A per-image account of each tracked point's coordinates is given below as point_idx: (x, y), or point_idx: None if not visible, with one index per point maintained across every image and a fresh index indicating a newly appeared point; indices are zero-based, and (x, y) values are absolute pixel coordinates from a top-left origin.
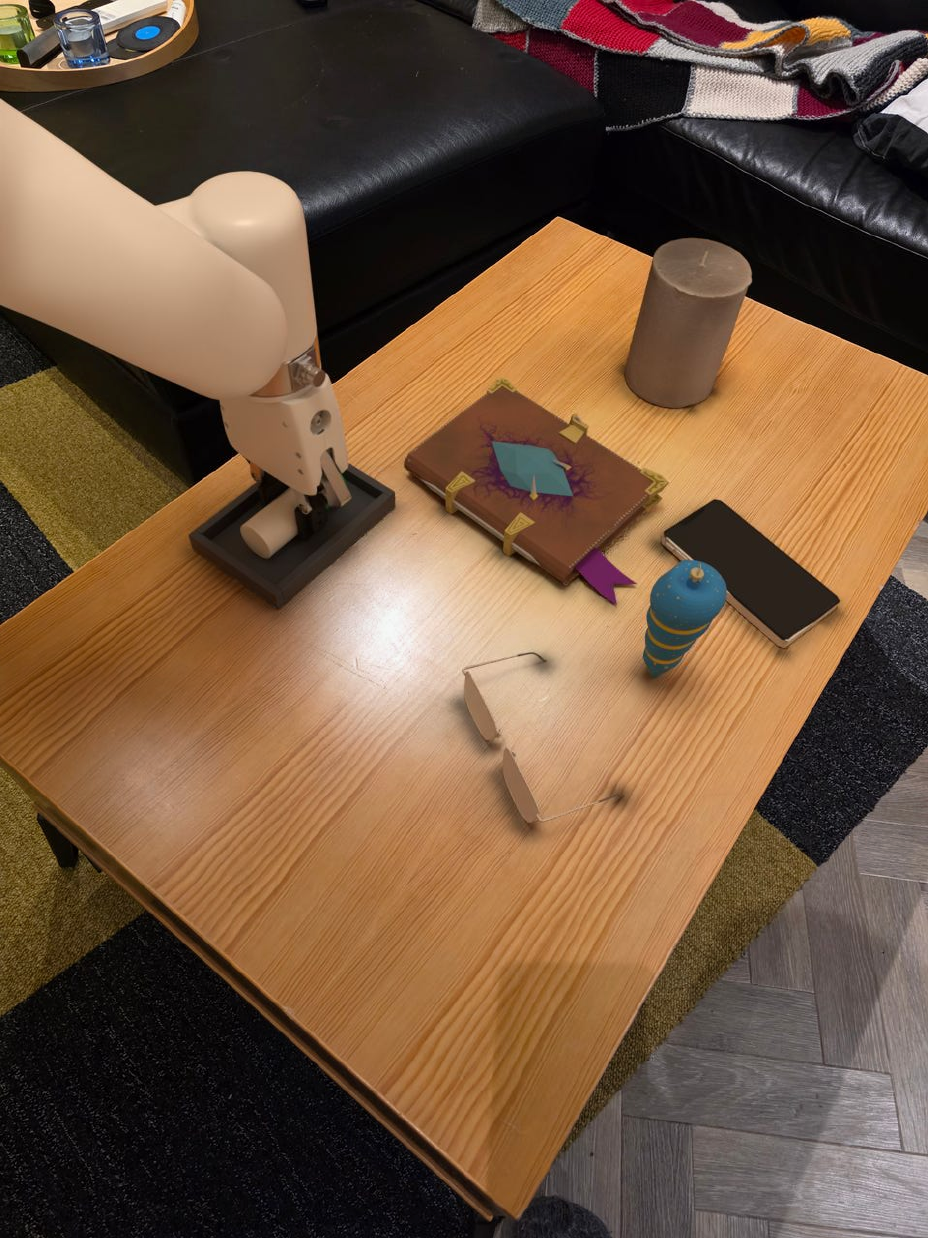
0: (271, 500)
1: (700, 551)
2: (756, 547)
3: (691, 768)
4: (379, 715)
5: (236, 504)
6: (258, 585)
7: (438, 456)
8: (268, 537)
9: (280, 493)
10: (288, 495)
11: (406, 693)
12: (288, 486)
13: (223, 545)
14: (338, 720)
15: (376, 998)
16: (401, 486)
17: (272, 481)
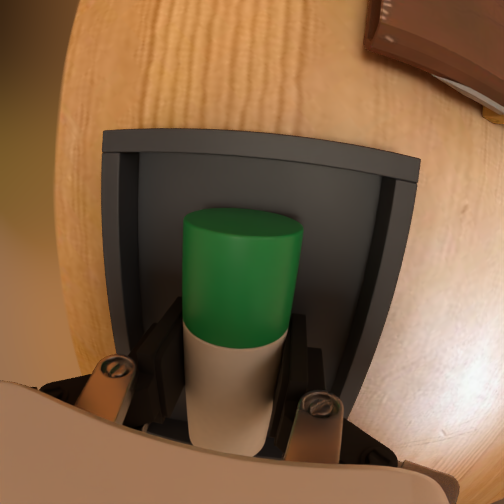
0: (181, 380)
1: None
2: None
3: None
4: (473, 445)
5: None
6: None
7: (450, 10)
8: (253, 451)
9: (181, 359)
10: (213, 388)
11: (495, 420)
12: (178, 335)
13: (176, 408)
14: (438, 466)
15: (479, 501)
16: (372, 89)
17: (159, 399)
